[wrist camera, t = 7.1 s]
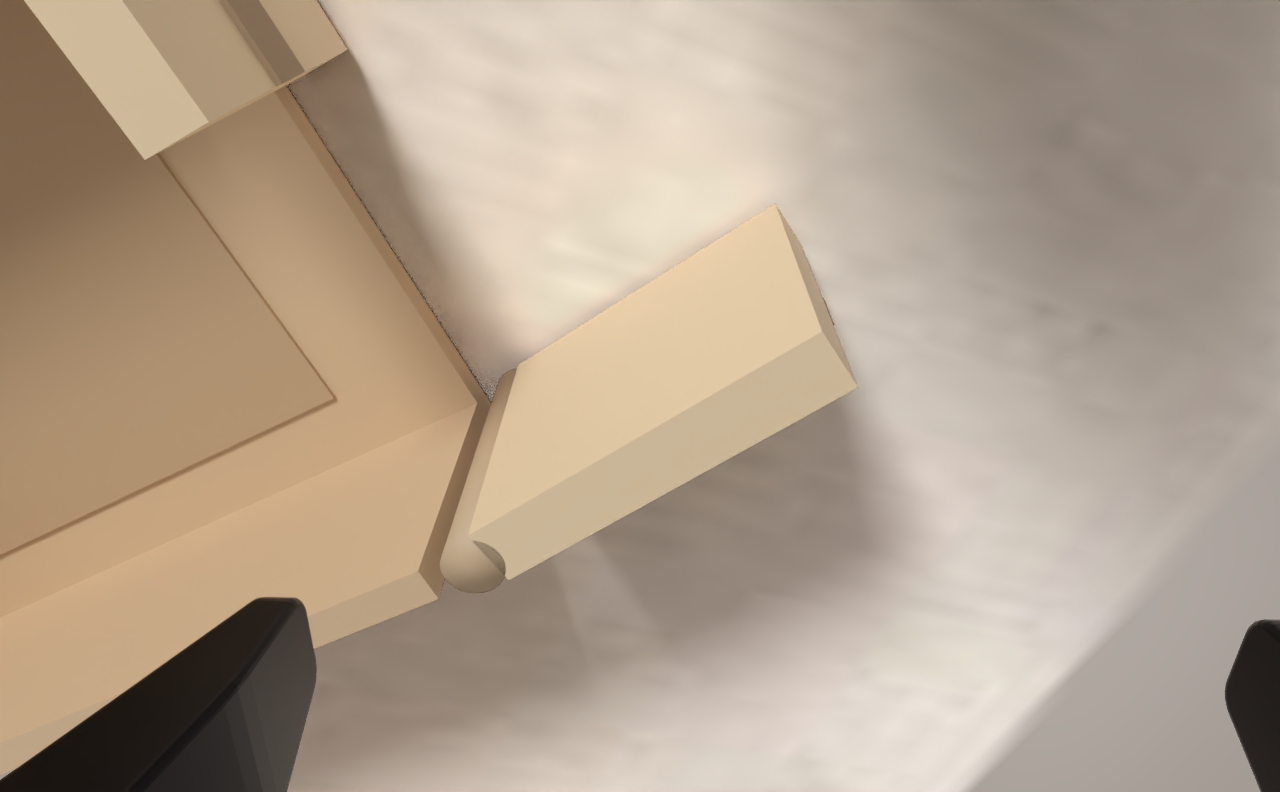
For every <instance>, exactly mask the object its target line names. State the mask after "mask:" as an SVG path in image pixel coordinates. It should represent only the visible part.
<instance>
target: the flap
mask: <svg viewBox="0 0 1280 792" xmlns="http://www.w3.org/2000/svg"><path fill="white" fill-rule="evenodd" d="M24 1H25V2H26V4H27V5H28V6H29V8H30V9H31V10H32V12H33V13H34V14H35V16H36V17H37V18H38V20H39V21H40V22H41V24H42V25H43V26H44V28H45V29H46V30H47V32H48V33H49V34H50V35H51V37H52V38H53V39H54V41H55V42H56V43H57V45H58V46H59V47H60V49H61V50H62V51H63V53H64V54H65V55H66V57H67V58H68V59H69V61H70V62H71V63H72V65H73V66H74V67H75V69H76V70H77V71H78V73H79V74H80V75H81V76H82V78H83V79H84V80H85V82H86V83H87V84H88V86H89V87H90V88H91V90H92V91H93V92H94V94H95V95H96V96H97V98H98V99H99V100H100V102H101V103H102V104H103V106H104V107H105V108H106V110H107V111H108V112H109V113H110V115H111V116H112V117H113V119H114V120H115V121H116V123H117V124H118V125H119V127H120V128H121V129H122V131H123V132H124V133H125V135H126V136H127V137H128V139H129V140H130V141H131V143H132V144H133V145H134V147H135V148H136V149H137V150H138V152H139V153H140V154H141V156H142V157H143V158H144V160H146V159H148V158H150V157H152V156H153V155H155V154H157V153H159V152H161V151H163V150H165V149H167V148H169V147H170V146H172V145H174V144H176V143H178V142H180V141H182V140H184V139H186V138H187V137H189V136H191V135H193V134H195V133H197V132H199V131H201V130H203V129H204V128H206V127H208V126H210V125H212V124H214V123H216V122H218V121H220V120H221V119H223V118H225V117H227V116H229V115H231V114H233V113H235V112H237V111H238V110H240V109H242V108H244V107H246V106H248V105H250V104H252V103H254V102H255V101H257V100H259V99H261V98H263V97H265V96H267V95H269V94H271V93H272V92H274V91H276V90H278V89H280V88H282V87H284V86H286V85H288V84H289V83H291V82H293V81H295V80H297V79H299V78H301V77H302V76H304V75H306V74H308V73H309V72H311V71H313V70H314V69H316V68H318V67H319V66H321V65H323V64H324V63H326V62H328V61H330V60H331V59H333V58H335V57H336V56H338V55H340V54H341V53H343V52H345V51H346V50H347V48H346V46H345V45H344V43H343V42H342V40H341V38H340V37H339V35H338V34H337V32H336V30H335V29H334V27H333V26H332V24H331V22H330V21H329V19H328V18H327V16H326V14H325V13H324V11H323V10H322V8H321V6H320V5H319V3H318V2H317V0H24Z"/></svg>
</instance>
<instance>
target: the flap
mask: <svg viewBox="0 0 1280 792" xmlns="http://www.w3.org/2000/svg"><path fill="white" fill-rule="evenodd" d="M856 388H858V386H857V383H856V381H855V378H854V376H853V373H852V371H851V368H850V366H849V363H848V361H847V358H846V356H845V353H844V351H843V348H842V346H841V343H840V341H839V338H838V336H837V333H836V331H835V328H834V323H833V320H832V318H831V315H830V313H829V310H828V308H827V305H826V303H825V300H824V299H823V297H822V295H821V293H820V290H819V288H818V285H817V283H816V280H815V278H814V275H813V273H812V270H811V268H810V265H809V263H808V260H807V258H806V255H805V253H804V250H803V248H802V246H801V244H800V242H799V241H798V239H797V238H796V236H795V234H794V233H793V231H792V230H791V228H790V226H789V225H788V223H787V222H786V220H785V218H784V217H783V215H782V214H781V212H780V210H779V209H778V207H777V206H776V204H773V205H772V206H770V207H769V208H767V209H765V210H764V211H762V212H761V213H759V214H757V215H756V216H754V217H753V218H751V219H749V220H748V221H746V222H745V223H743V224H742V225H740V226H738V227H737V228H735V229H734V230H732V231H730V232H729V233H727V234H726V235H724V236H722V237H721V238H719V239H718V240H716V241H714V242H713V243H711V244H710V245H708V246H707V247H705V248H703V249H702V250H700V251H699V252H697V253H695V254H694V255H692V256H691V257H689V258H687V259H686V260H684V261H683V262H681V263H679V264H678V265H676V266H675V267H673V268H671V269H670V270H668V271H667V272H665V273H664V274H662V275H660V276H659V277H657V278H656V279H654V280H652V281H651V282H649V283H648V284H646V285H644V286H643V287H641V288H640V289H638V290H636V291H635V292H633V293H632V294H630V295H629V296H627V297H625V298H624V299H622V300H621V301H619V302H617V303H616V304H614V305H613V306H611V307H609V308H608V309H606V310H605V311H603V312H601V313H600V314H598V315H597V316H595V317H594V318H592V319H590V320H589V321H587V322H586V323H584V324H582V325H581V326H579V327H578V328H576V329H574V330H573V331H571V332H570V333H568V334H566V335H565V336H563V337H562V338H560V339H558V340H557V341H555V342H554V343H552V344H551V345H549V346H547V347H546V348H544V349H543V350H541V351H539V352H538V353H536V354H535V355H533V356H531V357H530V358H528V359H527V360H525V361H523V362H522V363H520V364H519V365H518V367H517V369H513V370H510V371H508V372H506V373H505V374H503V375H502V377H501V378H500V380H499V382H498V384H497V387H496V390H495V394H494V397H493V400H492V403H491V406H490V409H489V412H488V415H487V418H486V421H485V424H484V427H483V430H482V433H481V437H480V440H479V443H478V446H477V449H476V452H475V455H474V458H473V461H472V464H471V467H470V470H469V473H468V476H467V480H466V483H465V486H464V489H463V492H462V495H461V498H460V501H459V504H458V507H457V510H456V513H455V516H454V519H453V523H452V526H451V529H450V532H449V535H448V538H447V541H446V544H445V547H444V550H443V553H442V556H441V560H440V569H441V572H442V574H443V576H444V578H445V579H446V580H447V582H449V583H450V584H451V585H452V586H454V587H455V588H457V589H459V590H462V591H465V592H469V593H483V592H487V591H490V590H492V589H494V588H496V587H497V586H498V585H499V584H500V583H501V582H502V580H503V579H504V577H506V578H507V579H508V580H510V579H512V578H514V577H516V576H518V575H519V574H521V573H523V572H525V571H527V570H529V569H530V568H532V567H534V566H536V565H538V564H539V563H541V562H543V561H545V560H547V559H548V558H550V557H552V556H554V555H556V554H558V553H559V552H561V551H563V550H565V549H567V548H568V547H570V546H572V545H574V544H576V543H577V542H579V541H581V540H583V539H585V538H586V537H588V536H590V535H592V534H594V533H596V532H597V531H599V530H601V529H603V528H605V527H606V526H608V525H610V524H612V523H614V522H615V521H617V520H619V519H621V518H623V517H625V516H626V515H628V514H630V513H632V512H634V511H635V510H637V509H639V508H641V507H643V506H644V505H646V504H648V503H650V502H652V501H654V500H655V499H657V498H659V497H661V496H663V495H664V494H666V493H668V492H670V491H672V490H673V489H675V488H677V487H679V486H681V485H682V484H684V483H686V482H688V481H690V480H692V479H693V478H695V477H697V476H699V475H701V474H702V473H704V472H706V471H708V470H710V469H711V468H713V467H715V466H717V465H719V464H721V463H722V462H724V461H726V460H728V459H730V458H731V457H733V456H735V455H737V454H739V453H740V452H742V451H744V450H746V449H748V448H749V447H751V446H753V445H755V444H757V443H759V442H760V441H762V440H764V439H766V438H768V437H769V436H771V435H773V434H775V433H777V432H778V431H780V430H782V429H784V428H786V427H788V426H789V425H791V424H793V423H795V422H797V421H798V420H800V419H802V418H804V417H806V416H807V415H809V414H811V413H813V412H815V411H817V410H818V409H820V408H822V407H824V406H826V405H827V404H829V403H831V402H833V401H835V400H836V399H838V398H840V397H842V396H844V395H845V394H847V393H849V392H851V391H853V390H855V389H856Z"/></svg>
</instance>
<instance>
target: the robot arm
mask: <svg viewBox="0 0 1280 792" xmlns="http://www.w3.org/2000/svg"><path fill="white" fill-rule="evenodd" d="M316 672H317V669H316V659H315V653H314V648H313V643H312V638H311V632H310V627H309V622H308V616H307V611H306V608H305V606H304V604H303V602H302V601H301V600H299V599H297V598H294V597H259V598H257V599H255V600H253V601H251V602H250V603H248V604H247V605H245V606H244V607H243V608H241V609H240V610H238V611H237V612H235V613H234V614H233V615H231V616H230V617H228V618H227V619H226V620H224V621H223V622H221V623H220V624H219V625H217V626H216V627H214V628H213V629H212V630H210V631H209V632H207V633H206V634H205V635H203V636H202V637H200V638H199V639H198V640H196V641H195V642H193V643H192V644H191V645H189V646H188V647H186V648H185V649H184V650H182V651H181V652H179V653H178V654H177V655H175V656H174V657H172V658H171V659H169V660H168V661H167V662H165V663H164V664H162V665H161V666H160V667H158V668H157V669H155V670H154V671H153V672H151V673H150V674H148V675H147V676H146V677H144V678H143V679H141V680H140V681H139V682H137V683H136V684H134V685H133V686H132V687H130V688H129V689H127V690H126V691H125V692H123V693H122V694H120V695H119V696H118V697H116V698H115V699H113V700H112V701H111V702H109V703H108V704H106V705H105V706H103V707H102V708H101V709H99V710H98V711H96V712H95V713H94V714H92V715H91V716H89V717H88V718H87V719H85V720H84V721H82V722H81V723H80V724H78V725H77V726H75V727H74V728H73V729H71V730H70V731H68V732H67V733H66V734H64V735H63V736H61V737H60V738H59V739H57V740H56V741H54V742H53V743H52V744H50V745H49V746H47V747H46V748H45V749H43V750H42V751H40V752H39V753H37V754H36V755H35V756H33V757H32V758H30V759H29V760H28V761H26V762H25V763H23V764H22V765H21V766H19V767H18V768H16V769H15V770H14V771H12V772H11V773H9V774H8V775H7V776H5V777H4V778H2V779H1V780H0V792H287V789H288V786H289V782H290V778H291V774H292V771H293V767H294V763H295V759H296V756H297V752H298V748H299V744H300V741H301V737H302V733H303V729H304V726H305V722H306V718H307V714H308V711H309V707H310V703H311V699H312V696H313V692H314V688H315V682H316ZM1225 700H1226V705H1227V709H1228V712H1229V715H1230V717H1231V720H1232V722H1233V724H1234V727H1235V729H1236V732H1237V735H1238V737H1239V739H1240V742H1241V744H1242V747H1243V749H1244V752H1245V754H1246V757H1247V759H1248V761H1249V764H1250V767H1251V769H1252V771H1253V774H1254V776H1255V779H1256V781H1257V784H1258V786H1259V788H1260V791H1261V792H1280V620H1259V621H1256V622H1254V623H1253V624H1252V625H1251V626H1250V627H1249V628H1248V630H1247V632H1246V634H1245V636H1244V639H1243V641H1242V644H1241V646H1240V649H1239V651H1238V654H1237V657H1236V659H1235V662H1234V664H1233V667H1232V669H1231V672H1230V674H1229V677H1228V679H1227V682H1226V688H1225Z"/></svg>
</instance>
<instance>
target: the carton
mask: <svg viewBox="0 0 1280 792" xmlns="http://www.w3.org/2000/svg"><path fill="white" fill-rule="evenodd" d="M490 406H491V402H490V401H489V399H488V398H487V396H486V395H485V393H484V392H483V390H482V388H481V387H480V385H479V384H478V382H477V381H476V379H475V378H474V376H473V375H472V373H471V371H470V370H469V368H468V367H467V365H466V364H465V362H464V361H463V359H462V357H461V356H460V354H459V353H458V351H457V350H456V348H455V347H454V345H453V344H452V342H451V340H450V339H449V337H448V336H447V334H446V333H445V331H444V330H443V328H442V326H441V325H440V323H439V322H438V320H437V319H436V317H435V316H434V314H433V313H432V311H431V309H430V308H429V306H428V305H427V303H426V302H425V300H424V299H423V297H422V295H421V294H420V292H419V291H418V289H417V288H416V286H415V285H414V283H413V282H412V280H411V278H410V277H409V275H408V274H407V272H406V271H405V269H404V268H403V266H402V264H401V263H400V261H399V260H398V258H397V257H396V255H395V254H394V252H393V251H392V249H391V247H390V246H389V244H388V243H387V241H386V240H385V238H384V237H383V235H382V233H381V232H380V230H379V229H378V227H377V226H376V224H375V223H374V221H373V219H372V218H371V216H370V215H369V213H368V212H367V210H366V209H365V207H364V206H363V204H362V202H361V201H360V199H359V198H358V196H357V195H356V193H355V192H354V190H353V188H352V187H351V185H350V184H349V182H348V181H347V179H346V178H345V176H344V175H343V173H342V171H341V170H340V168H339V167H338V165H337V164H336V162H335V161H334V159H333V157H332V156H331V154H330V153H329V151H328V150H327V148H326V147H325V145H324V144H323V142H322V140H321V139H320V137H319V136H318V134H317V133H316V131H315V130H314V128H313V126H312V125H311V123H310V122H309V120H308V119H307V117H306V116H305V114H304V113H303V111H302V109H301V108H300V106H299V105H298V103H297V102H296V100H295V99H294V97H293V95H292V94H291V92H290V91H289V89H288V88H287V86H284V87H282V88H280V89H278V90H276V91H274V92H272V93H271V94H269V95H267V96H265V97H263V98H261V99H259V100H257V101H255V102H254V103H252V104H250V105H248V106H246V107H244V108H242V109H240V110H238V111H237V112H235V113H233V114H231V115H229V116H227V117H225V118H223V119H221V120H220V121H218V122H216V123H214V124H212V125H210V126H208V127H206V128H204V129H203V130H201V131H199V132H197V133H195V134H193V135H191V136H189V137H187V138H186V139H184V140H182V141H180V142H178V143H176V144H174V145H172V146H170V147H169V148H167V149H165V150H163V151H161V152H159V153H157V154H155V155H153V156H152V157H150V158H148V159H146V160H144V158H143V157H142V156H141V154H140V153H139V152H138V150H137V149H136V148H135V147H134V145H133V144H132V143H131V141H130V140H129V139H128V137H127V136H126V135H125V133H124V132H123V131H122V129H121V128H120V127H119V125H118V124H117V123H116V121H115V120H114V119H113V117H112V116H111V115H110V113H109V112H108V111H107V110H106V108H105V107H104V106H103V104H102V103H101V102H100V100H99V99H98V98H97V96H96V95H95V94H94V92H93V91H92V90H91V88H90V87H89V86H88V84H87V83H86V82H85V80H84V79H83V78H82V76H81V75H80V74H79V73H78V71H77V70H76V69H75V67H74V66H73V65H72V63H71V62H70V61H69V59H68V58H67V57H66V55H65V54H64V53H63V51H62V50H61V49H60V47H59V46H58V45H57V43H56V42H55V41H54V39H53V38H52V37H51V35H50V34H49V33H48V32H47V30H46V29H45V28H44V26H43V25H42V24H41V22H40V21H39V20H38V18H37V17H36V16H35V14H34V13H33V12H32V10H31V9H30V8H29V6H28V5H27V4H26V2H25V1H24V0H0V775H1V774H4V773H6V772H9V771H11V770H14V769H16V768H18V767H19V766H21V765H22V764H23V763H25V762H26V761H28V760H29V759H30V758H32V757H33V756H35V755H36V754H37V753H39V752H40V751H42V750H43V749H45V748H46V747H47V746H49V745H50V744H52V743H53V742H54V741H56V740H57V739H59V738H60V737H61V736H63V735H64V734H66V733H67V732H68V731H70V730H71V729H73V728H74V727H75V726H77V725H78V724H80V723H81V722H82V721H84V720H85V719H87V718H88V717H89V716H91V715H92V714H94V713H95V712H96V711H98V710H99V709H101V708H102V707H103V706H105V705H106V704H108V703H109V702H111V701H112V700H113V699H115V698H116V697H118V696H119V695H120V694H122V693H123V692H125V691H126V690H127V689H129V688H130V687H132V686H133V685H134V684H136V683H137V682H139V681H140V680H141V679H143V678H144V677H146V676H147V675H148V674H150V673H151V672H153V671H154V670H155V669H157V668H158V667H160V666H161V665H162V664H164V663H165V662H167V661H168V660H169V659H171V658H172V657H174V656H175V655H177V654H178V653H179V652H181V651H182V650H184V649H185V648H186V647H188V646H189V645H191V644H192V643H193V642H195V641H196V640H198V639H199V638H200V637H202V636H203V635H205V634H206V633H207V632H209V631H210V630H212V629H213V628H214V627H216V626H217V625H219V624H220V623H221V622H223V621H224V620H226V619H227V618H228V617H230V616H231V615H233V614H234V613H235V612H237V611H238V610H240V609H241V608H243V607H244V606H245V605H247V604H248V603H250V602H251V601H253V600H255V599H257V598H259V597H294V598H297V599H299V600H301V601H302V602H303V604H304V606H305V608H306V611H307V616H308V622H309V627H310V632H311V638H312V643H313V648H314V649H316V648H318V647H321V646H323V645H326V644H328V643H331V642H333V641H336V640H338V639H341V638H343V637H346V636H348V635H351V634H353V633H355V632H358V631H360V630H363V629H365V628H368V627H370V626H373V625H375V624H378V623H380V622H383V621H385V620H388V619H390V618H393V617H395V616H398V615H400V614H403V613H405V612H408V611H410V610H413V609H415V608H418V607H420V606H423V605H425V604H428V603H430V602H433V601H435V600H438V599H439V597H440V594H441V590H442V587H443V584H444V581H445V578H444V576H443V574H442V572H441V569H440V560H441V556H442V553H443V550H444V547H445V544H446V541H447V538H448V535H449V532H450V529H451V526H452V523H453V519H454V516H455V513H456V510H457V507H458V504H459V501H460V498H461V495H462V492H463V489H464V486H465V483H466V480H467V476H468V473H469V470H470V467H471V464H472V461H473V458H474V455H475V452H476V449H477V446H478V443H479V440H480V437H481V433H482V430H483V427H484V424H485V421H486V418H487V415H488V412H489V409H490Z"/></svg>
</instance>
